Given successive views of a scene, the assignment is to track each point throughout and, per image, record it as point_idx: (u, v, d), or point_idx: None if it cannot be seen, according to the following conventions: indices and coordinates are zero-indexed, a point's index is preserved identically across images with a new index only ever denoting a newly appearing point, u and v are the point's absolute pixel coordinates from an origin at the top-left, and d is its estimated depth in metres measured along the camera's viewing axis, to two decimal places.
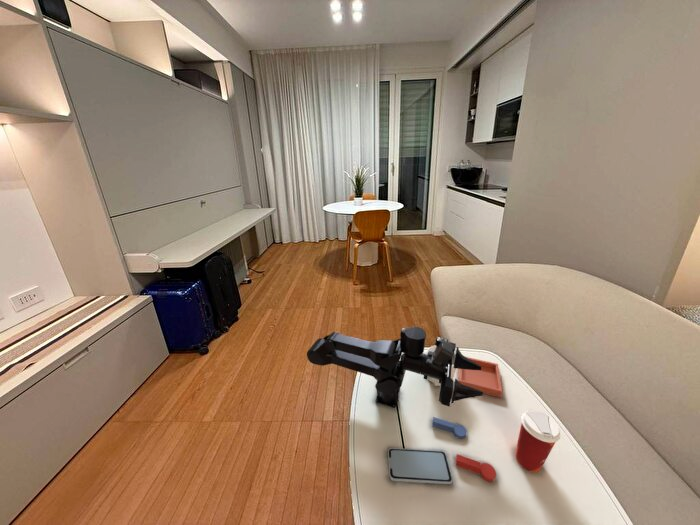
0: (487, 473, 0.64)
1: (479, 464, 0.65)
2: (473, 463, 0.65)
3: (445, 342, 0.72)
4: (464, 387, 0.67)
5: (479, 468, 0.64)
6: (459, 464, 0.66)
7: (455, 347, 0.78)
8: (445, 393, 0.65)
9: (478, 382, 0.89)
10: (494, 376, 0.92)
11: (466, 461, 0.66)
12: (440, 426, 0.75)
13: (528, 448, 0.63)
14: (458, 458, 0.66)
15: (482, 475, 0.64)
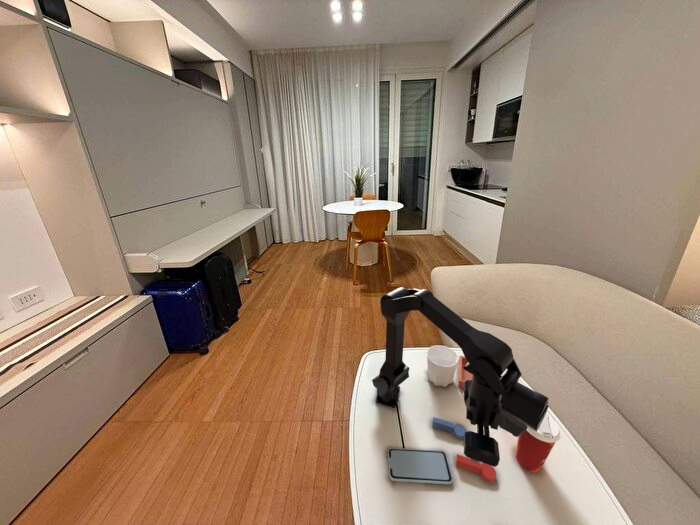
0: (487, 473, 0.64)
1: (479, 464, 0.65)
2: (473, 463, 0.65)
3: None
4: None
5: (479, 468, 0.64)
6: (459, 464, 0.66)
7: None
8: (489, 459, 0.51)
9: None
10: None
11: (466, 461, 0.66)
12: (440, 426, 0.75)
13: (528, 448, 0.63)
14: (458, 458, 0.66)
15: (482, 475, 0.64)
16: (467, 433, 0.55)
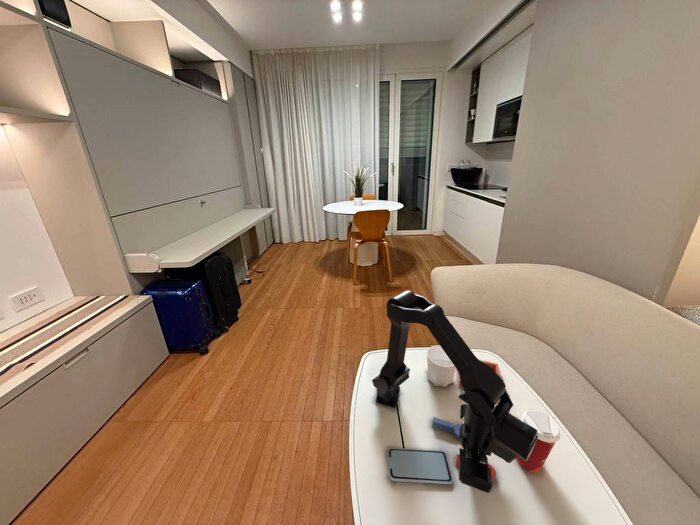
0: None
1: None
2: None
3: None
4: None
5: None
6: None
7: None
8: (482, 486, 0.54)
9: None
10: None
11: None
12: (440, 426, 0.75)
13: None
14: (458, 458, 0.66)
15: None
16: (462, 459, 0.58)
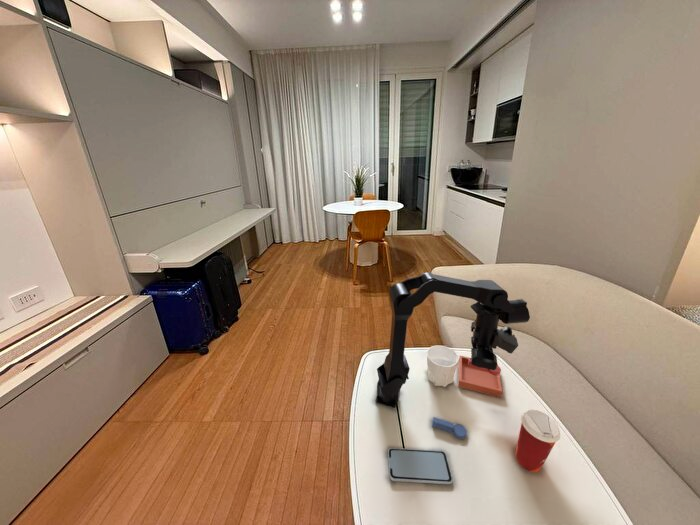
0: None
1: None
2: None
3: None
4: None
5: None
6: (471, 364, 0.83)
7: None
8: (489, 364, 0.71)
9: (478, 382, 0.89)
10: (494, 376, 0.92)
11: None
12: (440, 426, 0.75)
13: (528, 448, 0.63)
14: (470, 360, 0.83)
15: (489, 371, 0.80)
16: (473, 350, 0.75)
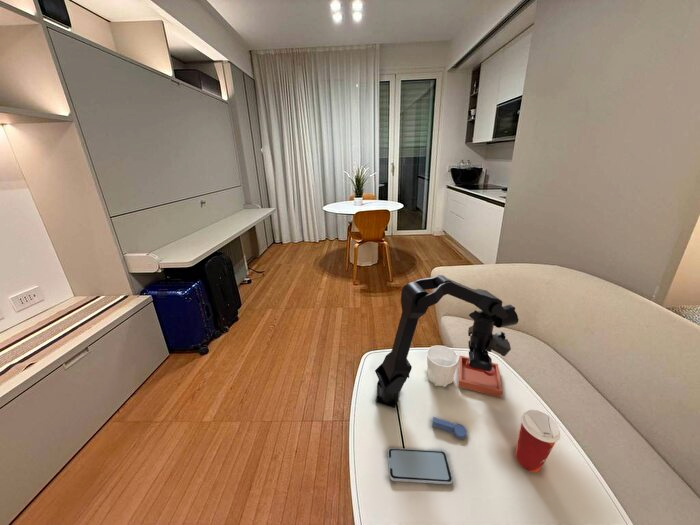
0: None
1: None
2: None
3: None
4: None
5: None
6: (468, 366, 0.91)
7: None
8: (485, 366, 0.79)
9: (478, 382, 0.89)
10: (494, 376, 0.92)
11: None
12: (440, 426, 0.75)
13: (528, 448, 0.63)
14: (467, 362, 0.91)
15: (485, 372, 0.89)
16: (471, 353, 0.83)
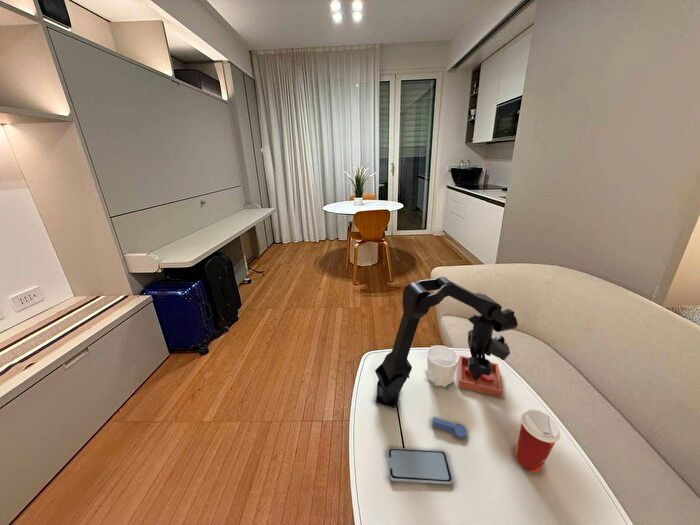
0: (487, 377, 0.90)
1: None
2: None
3: None
4: None
5: None
6: (467, 372, 0.92)
7: None
8: (485, 370, 0.80)
9: (478, 382, 0.89)
10: (494, 376, 0.92)
11: None
12: (440, 426, 0.75)
13: (528, 448, 0.63)
14: (466, 369, 0.92)
15: (484, 378, 0.90)
16: (470, 357, 0.84)
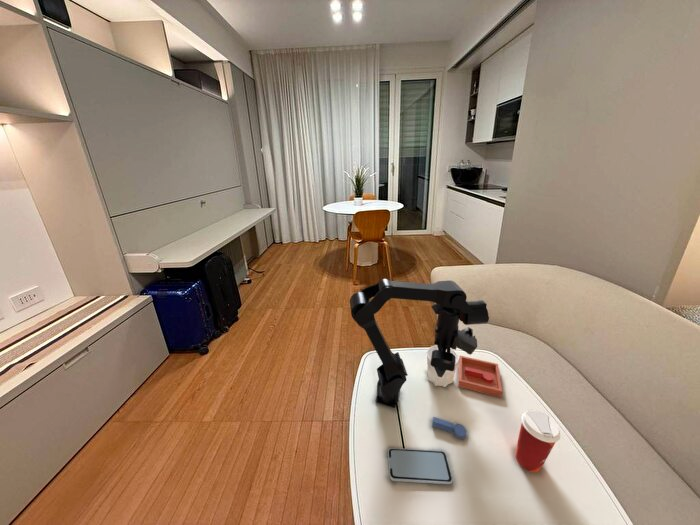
0: (487, 377, 0.90)
1: (481, 371, 0.91)
2: (477, 371, 0.91)
3: None
4: None
5: (481, 374, 0.90)
6: (467, 372, 0.92)
7: None
8: (447, 365, 0.70)
9: (478, 382, 0.89)
10: (494, 376, 0.92)
11: (472, 370, 0.91)
12: (440, 426, 0.75)
13: (528, 448, 0.63)
14: (466, 369, 0.92)
15: (484, 378, 0.90)
16: (433, 351, 0.74)
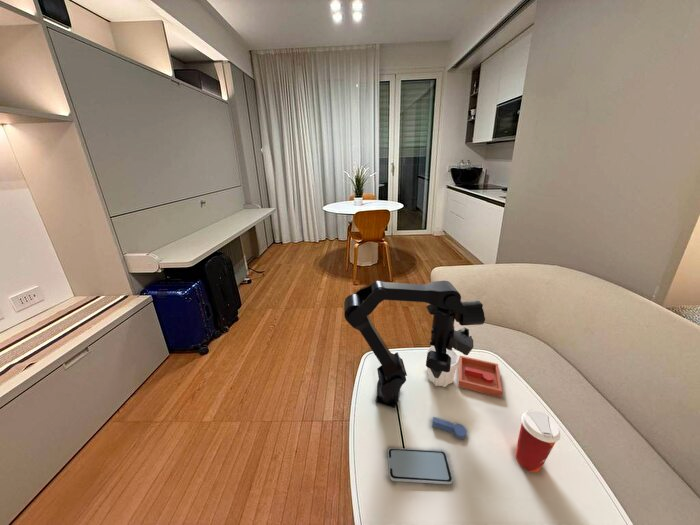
0: (487, 377, 0.90)
1: (481, 371, 0.91)
2: (477, 371, 0.91)
3: None
4: None
5: (481, 374, 0.90)
6: (467, 372, 0.92)
7: None
8: (443, 366, 0.70)
9: (478, 382, 0.89)
10: (494, 376, 0.92)
11: (472, 370, 0.91)
12: (440, 426, 0.75)
13: (528, 448, 0.63)
14: (466, 369, 0.92)
15: (484, 378, 0.90)
16: (429, 352, 0.74)
